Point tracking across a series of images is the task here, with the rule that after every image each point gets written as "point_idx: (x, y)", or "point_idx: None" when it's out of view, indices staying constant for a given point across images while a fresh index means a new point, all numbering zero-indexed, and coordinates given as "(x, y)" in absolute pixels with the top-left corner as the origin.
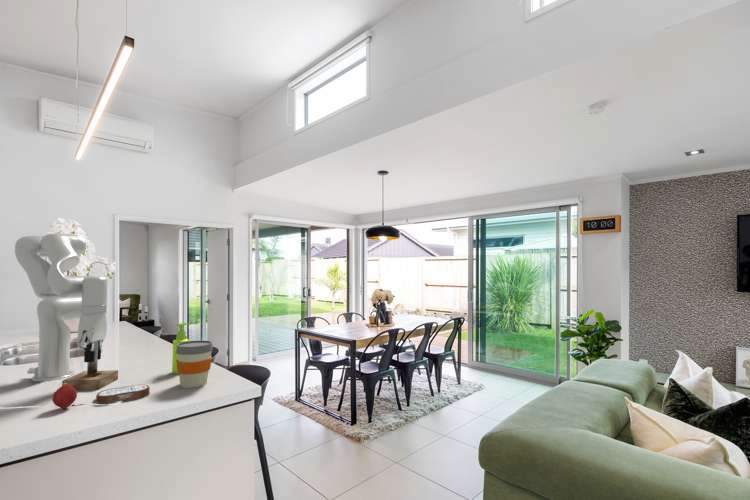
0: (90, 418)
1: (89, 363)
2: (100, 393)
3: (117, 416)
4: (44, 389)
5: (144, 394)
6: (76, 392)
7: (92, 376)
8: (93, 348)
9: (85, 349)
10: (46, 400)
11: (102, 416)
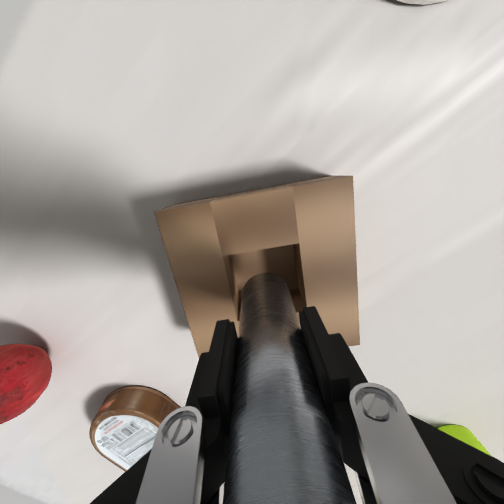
0: (20, 447)
1: (238, 333)
2: (114, 417)
3: (52, 484)
4: (202, 66)
5: None
6: (21, 413)
7: (298, 258)
8: (217, 501)
9: (144, 469)
10: (81, 226)
11: (39, 460)
